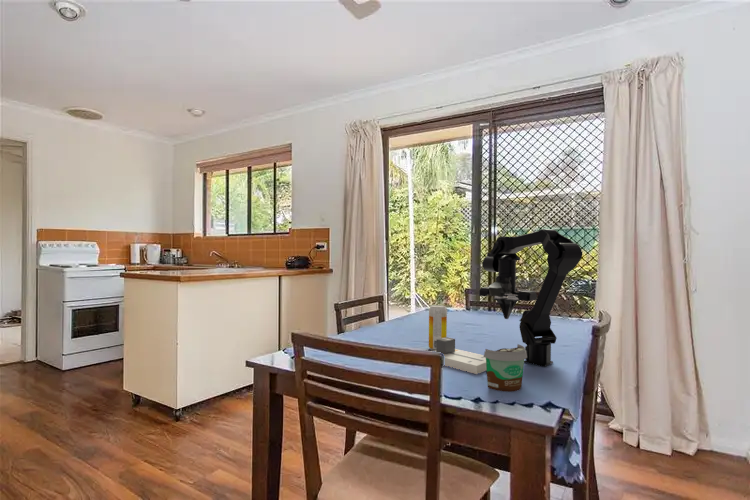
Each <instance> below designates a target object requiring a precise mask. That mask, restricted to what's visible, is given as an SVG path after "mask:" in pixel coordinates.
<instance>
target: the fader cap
mask: <svg viewBox="0 0 750 500" xmlns="http://www.w3.org/2000/svg"><path fill="white" fill-rule="evenodd" d="M455 349H456V338H453V337H448V336H447V337H444V338H440V339H437V346H436V352H441V353H443V354H448V353H452V352H455Z"/></svg>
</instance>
